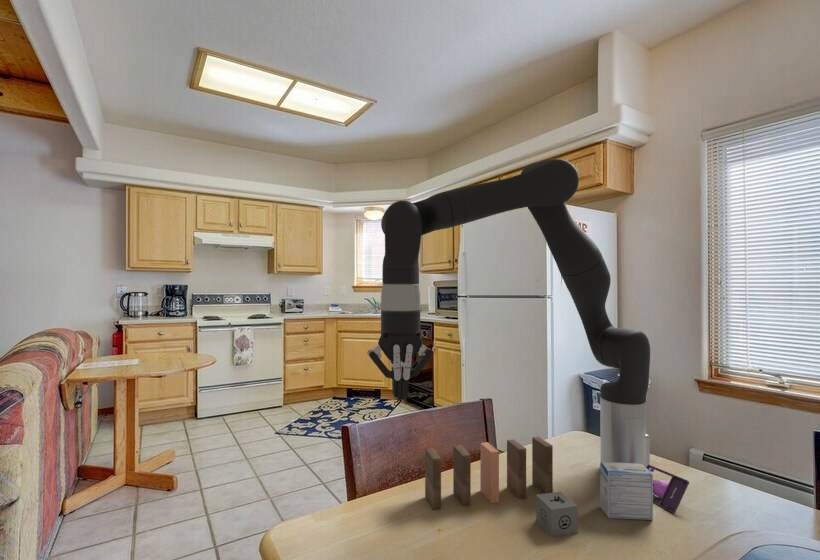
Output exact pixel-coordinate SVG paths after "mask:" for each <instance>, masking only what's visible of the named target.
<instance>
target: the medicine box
mask: <svg viewBox="0 0 820 560" xmlns="http://www.w3.org/2000/svg"><path fill="white" fill-rule="evenodd" d="M599 469H600V470H599V480H600V482H599V483H600V484H599V485H600V491H599V494H600V496H599V497H600V500H599V501H600V507H601V509H602V510H603V512H604V514H605V515H606V516H607V518H608V519H623V520H624V519H626V520H642V521H643V520H644V521H645V520H646V521H653V520H654V506H653V504H654V503H653V501H654V500H653V494H654V493H653V480H654V475H653V472H651V471H649V470H648V469H647V468H646V467H645V466H643V465H642V464H635V463H610V462H601V461H600V463H599Z"/></svg>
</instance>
